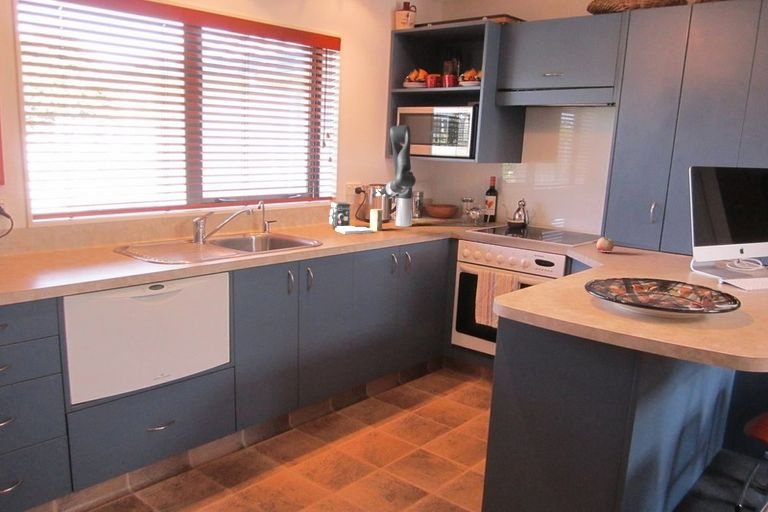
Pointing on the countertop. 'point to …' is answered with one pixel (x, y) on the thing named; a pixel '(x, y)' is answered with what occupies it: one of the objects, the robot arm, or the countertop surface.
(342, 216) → the camera
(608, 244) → the fruit
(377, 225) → the light wooden block
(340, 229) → the baseplate
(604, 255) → the countertop surface
